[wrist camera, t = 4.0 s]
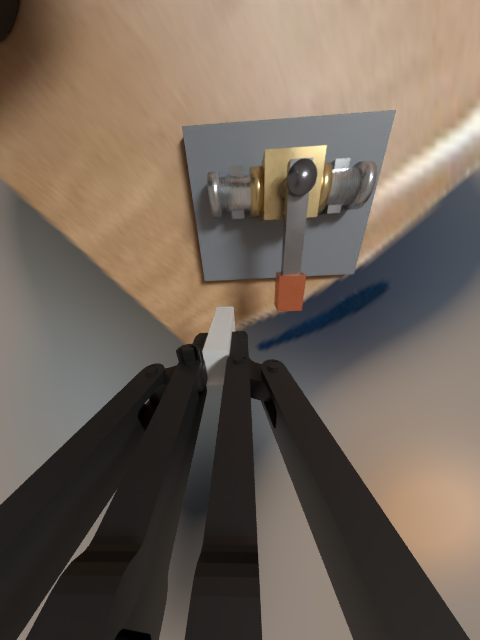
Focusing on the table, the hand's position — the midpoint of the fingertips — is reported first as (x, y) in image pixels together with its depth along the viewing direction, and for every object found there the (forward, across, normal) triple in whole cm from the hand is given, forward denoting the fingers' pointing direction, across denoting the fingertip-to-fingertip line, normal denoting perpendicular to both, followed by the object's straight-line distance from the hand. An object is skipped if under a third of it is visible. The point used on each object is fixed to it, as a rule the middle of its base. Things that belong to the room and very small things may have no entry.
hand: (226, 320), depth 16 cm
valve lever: (+8, +7, +6) cm, 12 cm away
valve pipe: (+15, +7, +12) cm, 20 cm away
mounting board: (+15, +7, +10) cm, 19 cm away
